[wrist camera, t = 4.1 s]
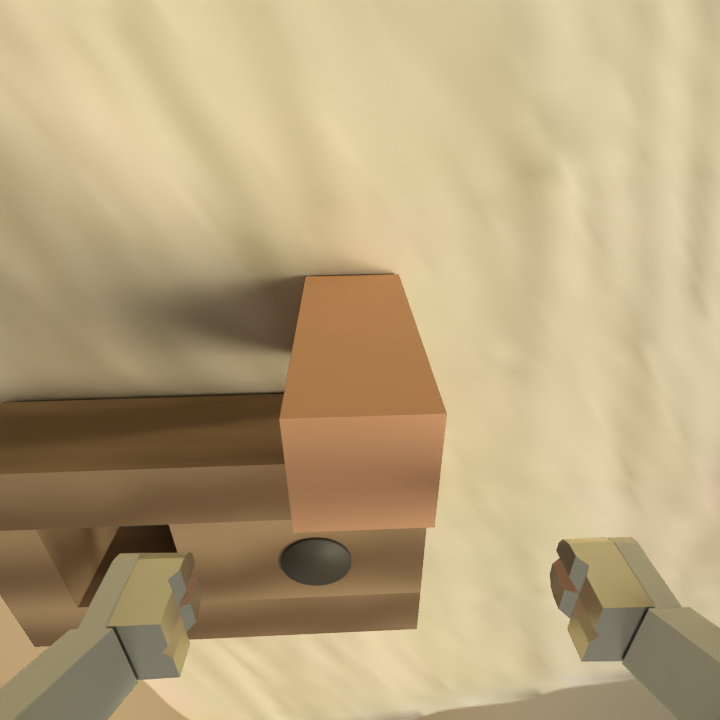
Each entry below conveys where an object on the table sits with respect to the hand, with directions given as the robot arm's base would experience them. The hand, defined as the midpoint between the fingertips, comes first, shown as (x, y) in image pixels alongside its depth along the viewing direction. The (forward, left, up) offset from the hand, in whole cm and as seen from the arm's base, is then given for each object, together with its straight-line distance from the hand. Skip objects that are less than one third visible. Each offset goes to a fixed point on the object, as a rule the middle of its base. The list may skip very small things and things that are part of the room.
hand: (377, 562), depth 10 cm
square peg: (0, 0, -12) cm, 12 cm away
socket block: (+10, -7, -12) cm, 17 cm away
